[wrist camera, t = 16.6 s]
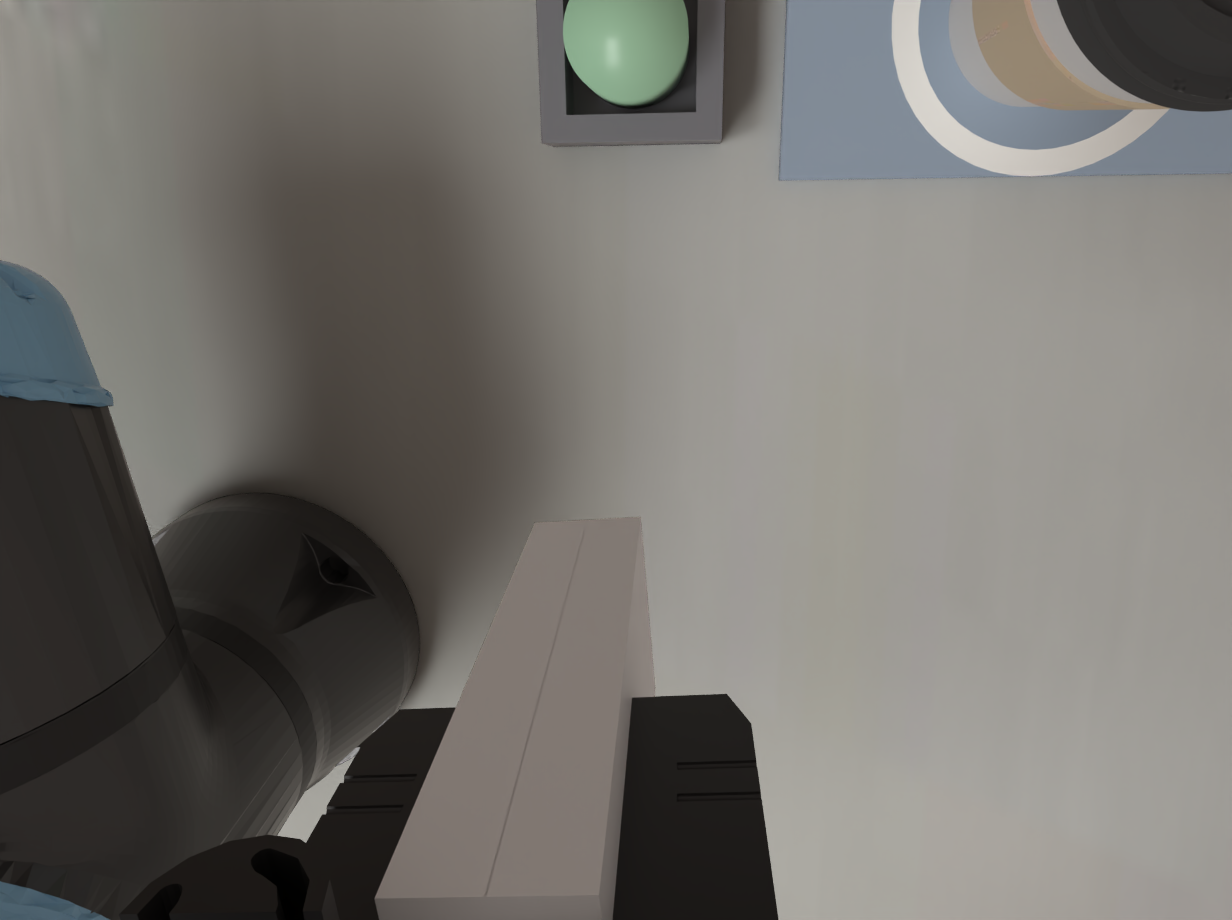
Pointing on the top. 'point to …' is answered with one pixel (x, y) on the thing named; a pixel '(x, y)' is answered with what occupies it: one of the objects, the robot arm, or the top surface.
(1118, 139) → the slate board
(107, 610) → the robot arm
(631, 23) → the button
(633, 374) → the top surface
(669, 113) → the button housing
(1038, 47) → the coffee cup
